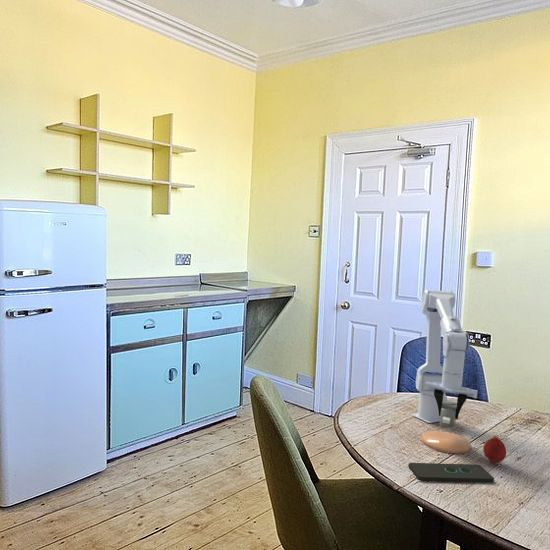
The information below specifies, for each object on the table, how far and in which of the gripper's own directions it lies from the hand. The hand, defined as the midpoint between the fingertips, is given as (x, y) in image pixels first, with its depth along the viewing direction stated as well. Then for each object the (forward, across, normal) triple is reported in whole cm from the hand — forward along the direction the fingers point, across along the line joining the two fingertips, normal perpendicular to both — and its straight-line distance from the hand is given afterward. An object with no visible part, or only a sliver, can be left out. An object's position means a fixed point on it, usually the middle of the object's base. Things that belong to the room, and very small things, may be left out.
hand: (448, 416), depth 153 cm
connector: (+2, 0, -1) cm, 2 cm away
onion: (+9, +13, -7) cm, 17 cm away
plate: (+8, 0, 0) cm, 8 cm away
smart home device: (+9, +3, -21) cm, 23 cm away
